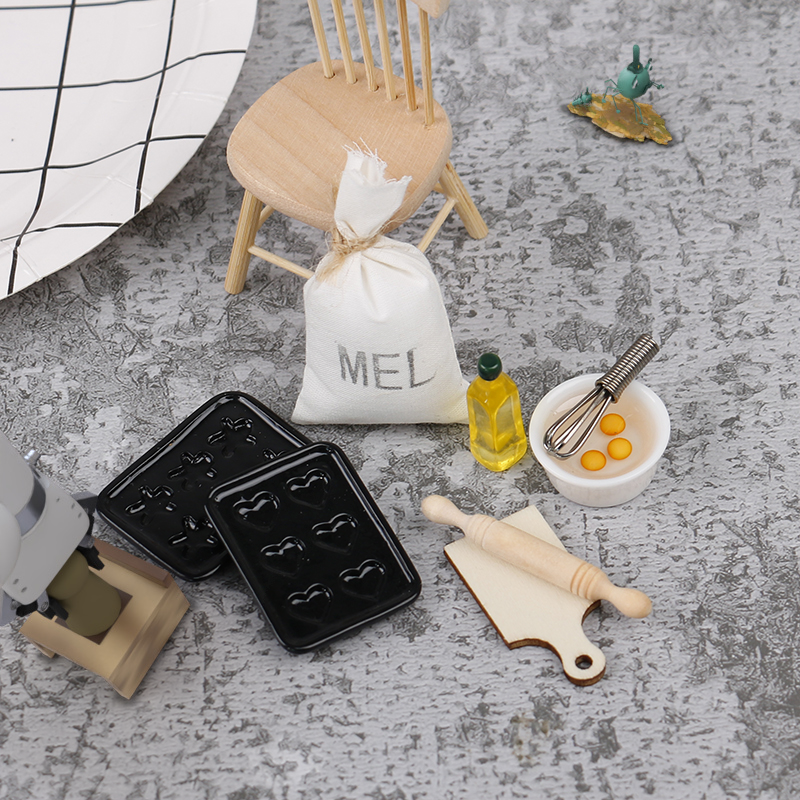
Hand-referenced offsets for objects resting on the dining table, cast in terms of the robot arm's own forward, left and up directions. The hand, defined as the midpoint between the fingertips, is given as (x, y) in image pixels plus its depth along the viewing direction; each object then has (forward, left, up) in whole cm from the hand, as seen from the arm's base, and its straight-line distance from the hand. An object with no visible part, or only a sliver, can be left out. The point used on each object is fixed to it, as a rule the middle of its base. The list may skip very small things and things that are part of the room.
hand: (73, 586), depth 96 cm
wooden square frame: (+1, 0, -13) cm, 13 cm away
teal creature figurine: (+104, -23, -13) cm, 108 cm away
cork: (0, 0, -6) cm, 6 cm away
